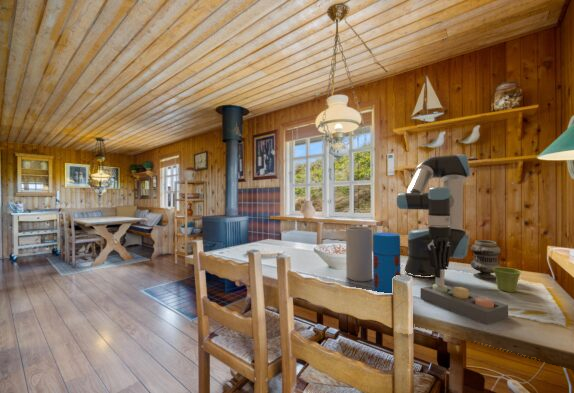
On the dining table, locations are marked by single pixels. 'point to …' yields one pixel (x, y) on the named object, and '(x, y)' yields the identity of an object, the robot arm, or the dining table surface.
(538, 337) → the dining table surface
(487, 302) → the pink button
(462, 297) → the ochre button
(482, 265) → the apothecary jar
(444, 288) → the sage button
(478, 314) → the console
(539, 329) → the dining table surface
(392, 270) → the thermos
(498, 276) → the plant pot
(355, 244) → the cylinder vase
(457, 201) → the robot arm
